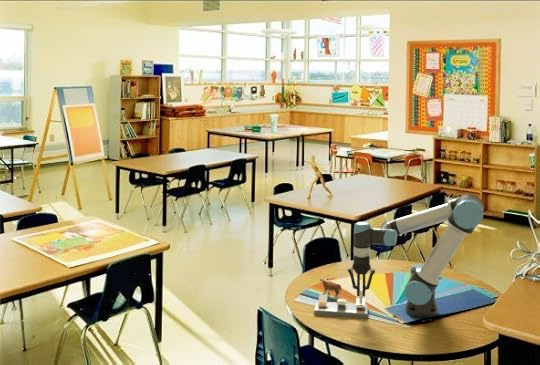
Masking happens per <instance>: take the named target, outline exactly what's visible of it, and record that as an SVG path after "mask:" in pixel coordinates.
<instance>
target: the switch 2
mask: <svg viewBox="0 0 540 365" xmlns="http://www.w3.org/2000/svg"><path fill="white" fill-rule="evenodd" d="M355 304H356V307H357V308H364V307H365V304H366V299H365V298H363V303H362V304H359V297H358V298H357V297H356V302H355Z"/></svg>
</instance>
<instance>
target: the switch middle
mask: <svg viewBox="0 0 540 365" xmlns="http://www.w3.org/2000/svg"><path fill="white" fill-rule="evenodd" d="M336 302H337V304H338V305H345V304H346V303H347V299H346V298H337V301H336Z"/></svg>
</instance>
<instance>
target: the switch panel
mask: <svg viewBox="0 0 540 365" xmlns="http://www.w3.org/2000/svg"><path fill="white" fill-rule="evenodd" d="M318 301H319V300H317V301H316V302H315V306H314V309H313V315H314V316H315V315H317V316H327V317H329V316H330V317H331V316H332V317H344V318H358V319H359V318H360V319H368V313H369V312H368V310H369V309H368V308H369V305H368V304H369V303H368V304H367V303H365V307H364V308H357V307H356V303H352V302H351V303H347V302H346V304H345V305H338V304H337V301H336V302H335V301H334V302H333V301H332V302H331V301H327V306H326V307H319V306H318Z"/></svg>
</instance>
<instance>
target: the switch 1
mask: <svg viewBox="0 0 540 365" xmlns="http://www.w3.org/2000/svg"><path fill="white" fill-rule="evenodd" d="M328 295H329V294H324V295H323V294H318V300H317V301H318V306H319V307H326V306H327V302H328Z"/></svg>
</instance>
